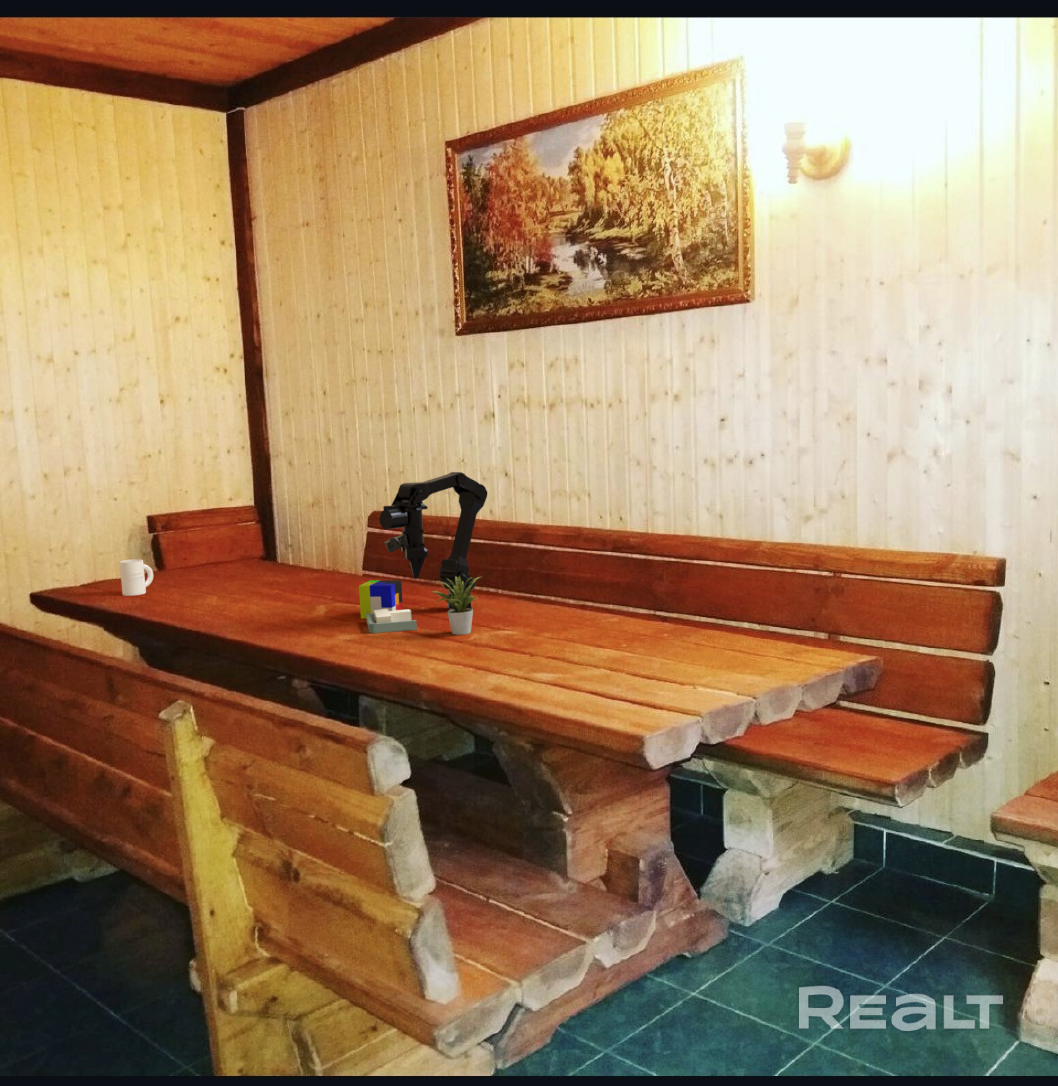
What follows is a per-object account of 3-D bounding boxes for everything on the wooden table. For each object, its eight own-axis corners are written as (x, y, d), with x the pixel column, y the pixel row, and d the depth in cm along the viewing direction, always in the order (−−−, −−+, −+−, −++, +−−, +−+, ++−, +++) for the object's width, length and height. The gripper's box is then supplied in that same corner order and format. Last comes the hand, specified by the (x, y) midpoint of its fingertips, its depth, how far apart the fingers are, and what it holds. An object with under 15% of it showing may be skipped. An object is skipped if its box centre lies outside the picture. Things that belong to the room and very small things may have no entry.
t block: (408, 620, 327) (407, 606, 327) (413, 627, 316) (412, 613, 315) (374, 623, 325) (373, 610, 325) (377, 631, 314) (376, 617, 313)
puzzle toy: (392, 618, 332) (390, 585, 330) (360, 618, 334) (358, 585, 333) (403, 612, 341) (401, 580, 340) (372, 612, 343) (370, 580, 342)
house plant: (466, 624, 317) (463, 568, 315) (499, 630, 307) (496, 571, 305) (427, 633, 307) (424, 574, 305) (460, 639, 297) (457, 579, 295)
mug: (160, 591, 404) (157, 558, 402) (130, 596, 395) (127, 563, 393) (148, 589, 409) (145, 557, 408) (118, 594, 400) (115, 561, 399)
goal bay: (411, 618, 330) (410, 610, 330) (417, 629, 313) (416, 620, 313) (366, 622, 328) (366, 613, 327) (369, 633, 311) (369, 624, 310)
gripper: (383, 524, 334) (386, 575, 336) (387, 530, 316) (390, 585, 318) (420, 522, 336) (423, 573, 338) (426, 528, 318) (429, 582, 320)
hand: (416, 578), depth 328 cm, fingers closed
